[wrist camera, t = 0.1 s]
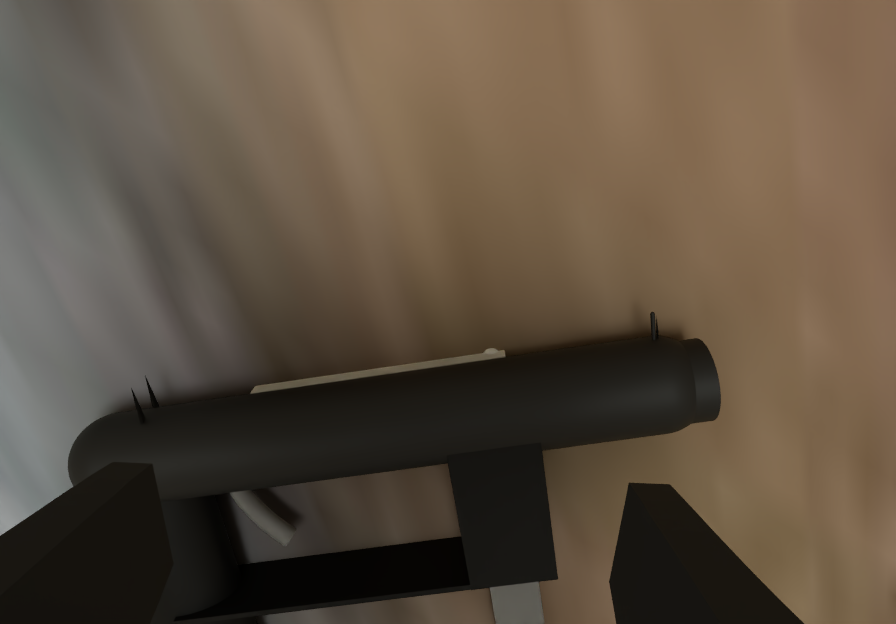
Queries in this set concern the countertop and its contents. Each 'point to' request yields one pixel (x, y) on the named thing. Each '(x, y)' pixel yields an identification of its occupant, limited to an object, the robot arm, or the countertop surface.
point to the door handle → (395, 468)
